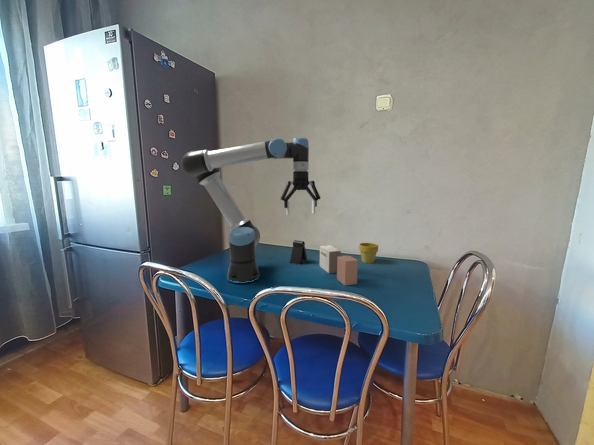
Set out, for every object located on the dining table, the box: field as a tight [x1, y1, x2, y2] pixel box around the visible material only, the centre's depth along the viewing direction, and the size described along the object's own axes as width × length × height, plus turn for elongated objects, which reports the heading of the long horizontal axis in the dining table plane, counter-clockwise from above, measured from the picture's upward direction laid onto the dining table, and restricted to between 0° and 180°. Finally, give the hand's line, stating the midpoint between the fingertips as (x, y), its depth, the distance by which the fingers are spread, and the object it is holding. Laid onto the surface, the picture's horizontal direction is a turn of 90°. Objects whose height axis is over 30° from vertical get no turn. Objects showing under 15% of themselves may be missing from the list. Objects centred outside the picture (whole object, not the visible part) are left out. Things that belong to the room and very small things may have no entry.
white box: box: [319, 244, 342, 274], centre depth 145 cm, size 6×12×11 cm, turn 18°
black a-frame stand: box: [289, 239, 308, 265], centre depth 158 cm, size 9×6×12 cm, turn 147°
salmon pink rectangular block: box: [336, 254, 359, 286], centre depth 128 cm, size 6×8×11 cm
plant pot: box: [358, 242, 379, 264], centre depth 158 cm, size 10×10×10 cm
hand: (300, 214), depth 142 cm, fingers open, 13 cm apart
